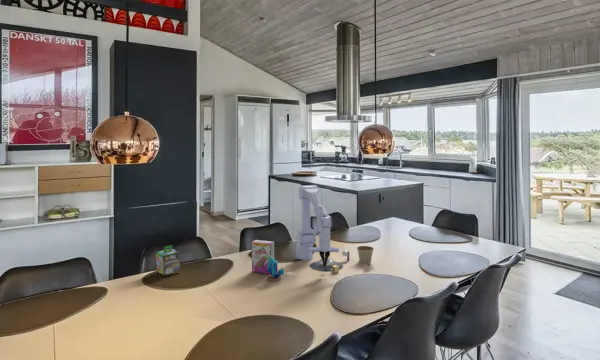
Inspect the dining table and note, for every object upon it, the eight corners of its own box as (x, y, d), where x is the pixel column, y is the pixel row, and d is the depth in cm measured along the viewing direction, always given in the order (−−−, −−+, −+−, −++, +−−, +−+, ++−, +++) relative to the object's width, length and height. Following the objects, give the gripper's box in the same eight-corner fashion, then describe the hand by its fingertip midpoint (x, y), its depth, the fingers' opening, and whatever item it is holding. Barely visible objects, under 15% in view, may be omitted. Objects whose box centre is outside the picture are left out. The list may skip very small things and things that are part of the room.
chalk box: (172, 268, 200) (171, 242, 198) (180, 273, 193) (179, 245, 192) (156, 273, 193) (154, 245, 192) (163, 277, 187) (162, 249, 185)
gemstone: (270, 283, 178) (270, 259, 177) (264, 277, 186) (264, 254, 185) (284, 280, 181) (284, 257, 180) (278, 275, 189) (278, 252, 187)
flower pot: (373, 266, 201) (373, 250, 200) (356, 265, 203) (356, 250, 202) (373, 261, 210) (373, 246, 209) (357, 260, 212) (357, 245, 211)
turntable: (320, 276, 185) (320, 269, 185) (304, 263, 204) (304, 257, 204) (352, 271, 192) (352, 264, 191) (333, 259, 211) (333, 253, 211)
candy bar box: (251, 272, 193) (250, 242, 191) (255, 269, 198) (255, 239, 196) (271, 274, 189) (270, 243, 188) (275, 271, 194) (274, 241, 192)
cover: (323, 269, 194) (323, 261, 194) (316, 264, 201) (316, 257, 201) (336, 266, 197) (336, 259, 197) (329, 262, 204) (329, 255, 204)
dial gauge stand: (342, 262, 208) (342, 250, 208) (343, 260, 212) (343, 248, 211) (350, 263, 206) (350, 251, 206) (352, 261, 210) (352, 249, 209)
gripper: (310, 241, 184) (310, 268, 185) (339, 242, 183) (339, 268, 185) (310, 238, 191) (310, 263, 192) (338, 238, 190) (338, 263, 192)
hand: (324, 265), depth 189 cm, fingers closed
